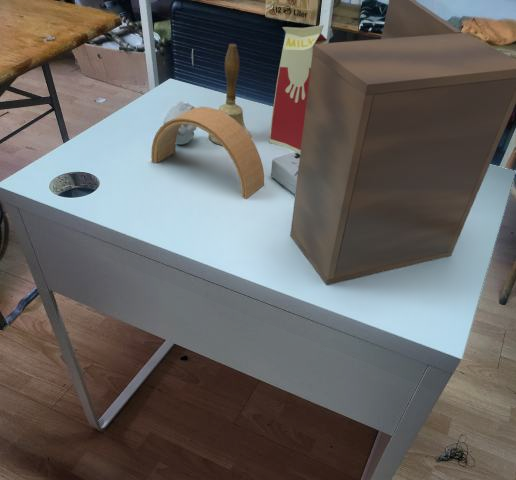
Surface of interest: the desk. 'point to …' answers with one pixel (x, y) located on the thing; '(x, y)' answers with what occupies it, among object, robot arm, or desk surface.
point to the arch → (224, 133)
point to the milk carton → (293, 86)
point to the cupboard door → (413, 21)
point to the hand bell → (231, 89)
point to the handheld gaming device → (286, 170)
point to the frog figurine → (185, 130)
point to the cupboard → (396, 149)
